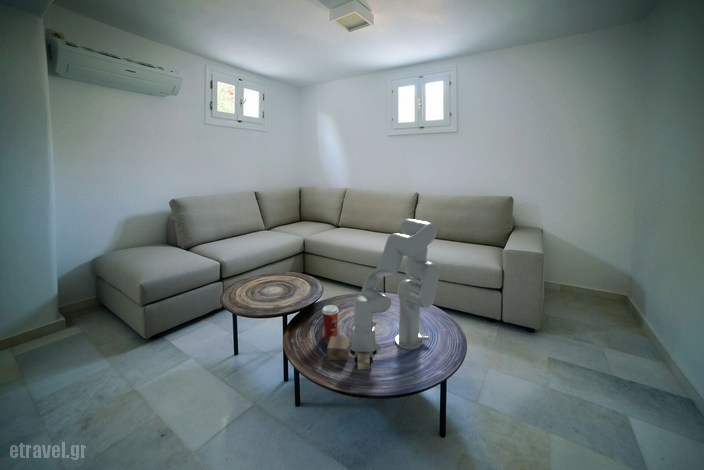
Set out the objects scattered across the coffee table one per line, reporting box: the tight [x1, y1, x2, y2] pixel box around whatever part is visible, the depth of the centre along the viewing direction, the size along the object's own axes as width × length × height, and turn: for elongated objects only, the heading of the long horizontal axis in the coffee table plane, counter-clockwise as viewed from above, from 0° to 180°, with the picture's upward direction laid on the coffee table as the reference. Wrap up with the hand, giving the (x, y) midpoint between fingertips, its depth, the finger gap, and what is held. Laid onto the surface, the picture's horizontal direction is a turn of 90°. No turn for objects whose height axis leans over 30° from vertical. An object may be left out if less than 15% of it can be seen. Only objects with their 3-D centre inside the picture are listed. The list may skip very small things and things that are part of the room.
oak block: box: [357, 352, 371, 370], centre depth 129 cm, size 5×5×7 cm
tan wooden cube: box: [326, 336, 351, 362], centre depth 137 cm, size 9×9×6 cm
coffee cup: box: [321, 304, 339, 340], centre depth 151 cm, size 8×8×15 cm
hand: (363, 363), depth 129 cm, fingers closed on oak block, 5 cm apart
